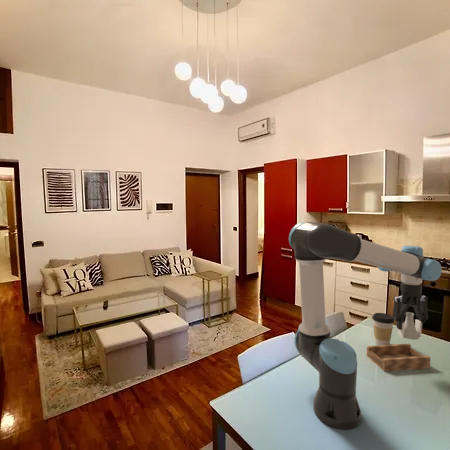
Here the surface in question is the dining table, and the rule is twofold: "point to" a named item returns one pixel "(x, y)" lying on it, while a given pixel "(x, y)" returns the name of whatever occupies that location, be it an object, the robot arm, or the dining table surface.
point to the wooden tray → (397, 357)
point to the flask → (410, 327)
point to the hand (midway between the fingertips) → (409, 336)
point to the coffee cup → (382, 328)
